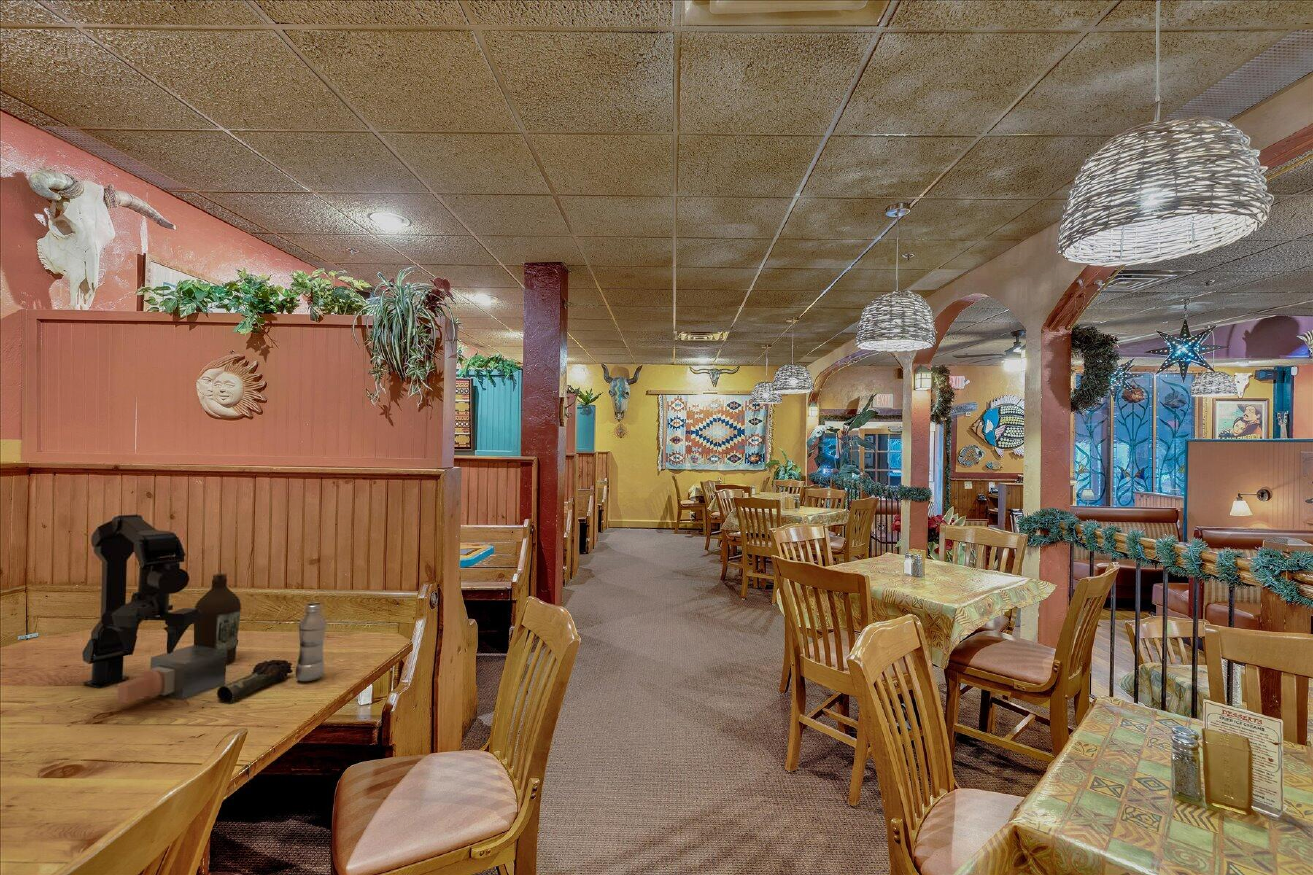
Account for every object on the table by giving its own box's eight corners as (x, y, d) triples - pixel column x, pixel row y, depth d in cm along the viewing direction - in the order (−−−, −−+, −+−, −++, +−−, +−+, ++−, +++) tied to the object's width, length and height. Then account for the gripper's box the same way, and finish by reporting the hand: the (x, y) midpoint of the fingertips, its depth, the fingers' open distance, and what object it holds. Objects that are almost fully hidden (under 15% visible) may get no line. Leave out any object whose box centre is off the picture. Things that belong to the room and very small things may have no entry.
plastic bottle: (302, 674, 153) (306, 600, 154) (328, 674, 154) (332, 601, 154) (289, 684, 147) (293, 607, 147) (316, 684, 147) (320, 607, 148)
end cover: (112, 705, 130) (114, 677, 131) (183, 681, 145) (185, 656, 145) (130, 709, 128) (132, 681, 129) (201, 684, 143) (202, 659, 143)
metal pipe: (232, 705, 134) (233, 681, 134) (210, 702, 136) (211, 678, 136) (295, 677, 151) (296, 656, 152) (275, 674, 153) (276, 653, 153)
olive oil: (180, 667, 155) (185, 576, 156) (216, 654, 166) (221, 569, 166) (212, 671, 153) (218, 579, 154) (247, 658, 164) (252, 572, 165)
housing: (148, 691, 140) (151, 657, 140) (192, 677, 149) (194, 644, 150) (182, 699, 136) (184, 663, 136) (225, 683, 146) (227, 650, 146)
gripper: (80, 593, 125) (74, 664, 125) (166, 596, 126) (161, 666, 125) (125, 581, 136) (120, 646, 136) (204, 584, 137) (200, 649, 136)
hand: (149, 652), depth 133 cm, fingers open, 9 cm apart
